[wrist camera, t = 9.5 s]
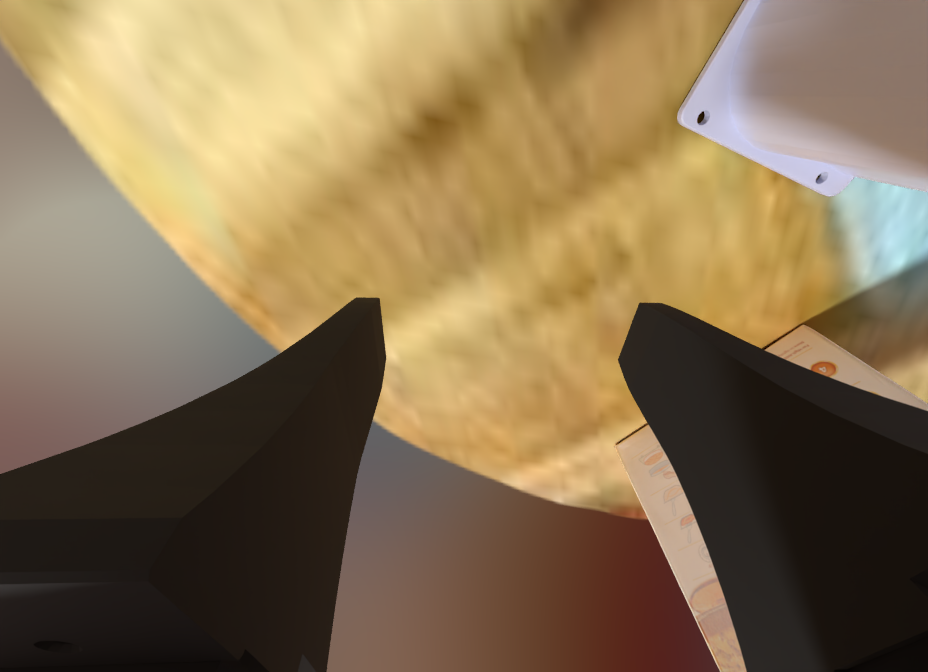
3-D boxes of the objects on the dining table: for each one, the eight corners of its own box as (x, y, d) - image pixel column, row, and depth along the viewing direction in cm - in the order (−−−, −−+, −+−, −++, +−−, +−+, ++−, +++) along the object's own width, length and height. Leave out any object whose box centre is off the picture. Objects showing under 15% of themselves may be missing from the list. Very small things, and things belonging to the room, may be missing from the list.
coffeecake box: (660, 475, 31) (887, 888, 15) (610, 444, 28) (820, 909, 12) (846, 371, 24) (1602, 906, 8) (803, 319, 22) (1799, 960, 6)
